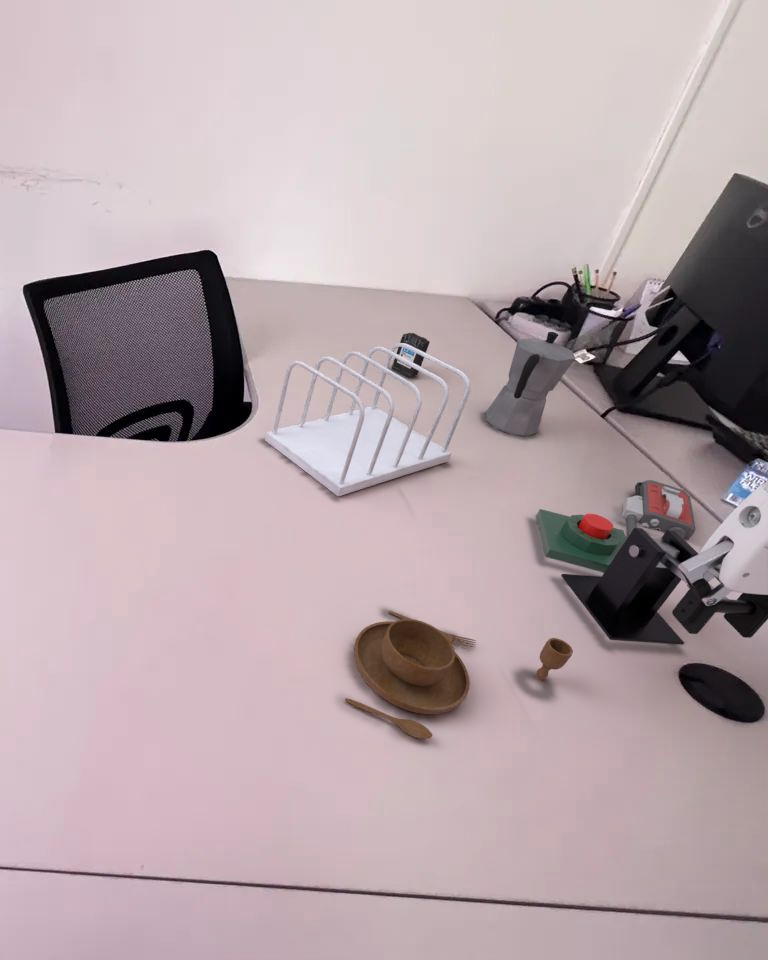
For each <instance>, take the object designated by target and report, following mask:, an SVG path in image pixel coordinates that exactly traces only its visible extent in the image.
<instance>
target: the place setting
mask: <svg viewBox="0 0 768 960" xmlns="http://www.w3.org/2000/svg"><path fill="white" fill-rule="evenodd" d="M388 614H390V615H392V616H395V617H397V618H399V619H397V620H394V621H391V620H390V621H389V620H388V621H379V622H374V623H371V624H369V625H367V626H366V627H364V628H363V629H362V630H361V631H360V632H359V633H358V634H357V637H356V639H355V642H354V646H353V659H354V663H355V665H356V668H357V671H358V673H359V674H360V676H361V677H362V679H363V681H364V682H365V683H366V684H367V685H368V686H369V688H371V689H372V690H373V691H374V692H375V693H376V694H377V695H378V696H380V697H381V698H382V699H384V700H385V701H387V702H388V703H390V704H392V705H394V706H396V707H398V708H400V709H402V710H406V711H409V712H412V713H417V714H422V715H439V714H444V713H447V712H451V711H452V710H454V709H456V708H458V706H460V705H461V704H462V703H463V702H464V701H465V699H466V698H467V696H468V694H469V690H470V686H471V681H470V675H469V671H468V670H467V667H466V665H465V664H464V662H463V660H462V658H461V657H460V656H459V654H458V653H457V652H456V651H455V648H454V645H453V644H457V645H460V646H465V647H470V648H475V646H476V644H477V640H476V639H473V638H468V637H464V636H460V635H456V634H452V633H447V632H445V631H443V630H440V629H438V628H436V627H435V626H433V625H432V624H430V623H427V622H424V621H423V620H419V619H413V618H410V617H407V616H405V615H402V614H400V613H397V612H394V611H391V610H388ZM573 653H574V650H573V648H572V646H571V645H570V644H569V643H568V642H566V641H565V640H563V639H560V638H558V637H551V638H548V640H547V641H546V642H545V644H544V645H543V647H542V648H541V651H540V653H539V660H540V662H541V664H542V665H541V667H540V668H538V669H537V670H536V676H535V679H536V680H538V681H543V680H544V679H547V678H548V676H549V672H550V671H551V670H554V671H555V670H559V669H562V668H563V667H564V666H565V665H566V663H568V661H569V659H570V658H571V657H572V655H573ZM344 701H345V702H346V703H348V704H350V705H352V706H354V707H357V708H359V709H361V710H364V711H365V712H366V711H367V712H369V713H371V714H373V715H377V716H379V717H381V718H384V719H386V720H388V721H390V722H393V723H394V724H395V725H397V726H398V727H399V728H400V729H401V730H402V731H403V732H404V733H406V734H407V735H409V736H412V737H414V738H417V739H421V740H428V739H431V738H432V737H433V734H432V731H430V730H429V728H427V727H426V726H425V725H424V724H422V723H420V722H418V721H416V720H414V719H413V720H412V719H408V718H399V717H395V716H392V715H390V714H387V713H384V712H383V711H380V710H378V709H375V708H373V707H371V706H369V705H367V704H364V703H362V702H359V701H356V700H354V699H350V698H348V697H346V698H344Z"/></svg>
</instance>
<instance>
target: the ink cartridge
mask: <svg viewBox="0 0 768 960" xmlns="http://www.w3.org/2000/svg"><path fill="white" fill-rule="evenodd" d="M399 343H406V344H408V345H410V346H412V347H414V348H416V349H418V350H421V351H423V352H425V353H427V351H428V348H429V345H430V343H431V341H430V340H428V339H427V338H426V337H423V336H420V335H418V334H417V333H415V332H407V333H403V335H402V336H401V338H400V341H399ZM395 353H396V354H398V355H400V356H402V357H404V358H405V359H407V360H409V361H411V362H413V363H415V364H416V365H418V366H420V367H422V364H423V362H424V359H425V357H423V356H421V355H419V354H417V353H415V352H413V351H411V350H409V349H407V348H404V347H398V348H397V350H396V352H395ZM391 369H392V370H393V371H394V372H397V374H398V373H399V374H401V376H402V375H403V376H404V377H406V378H409V379H410V378H413V377H416V376H419V373H420V371H418V370H416V369H414V368H413V367H411V366H409V365H407V364H405V363H403V362H401V361H400V360H398V359H396V358H394V360H393V362H392V365H391Z"/></svg>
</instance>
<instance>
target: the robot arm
mask: <svg viewBox="0 0 768 960" xmlns="http://www.w3.org/2000/svg"><path fill="white" fill-rule="evenodd" d="M678 569H679V570H680V571H681V573H682V574H683V575H684V577H685V579H686V581H687V583H686V587H688V590H687V591H686V592H685V594H684V595H683V597H682V598H681V599H680V600H679V601H678V603H677V604H676V606H675V607H674V608H673V609H672V611H671V614H672V616H673V617H674V618H675V620H676V621H677V622H678V623H679V624H680V625H681V626H682V627H683V628H684V629H685V630H686V632H687V633H688V634H690V635H697V634H699V633H700V631H702V629H703V628H704V627H705V626H706V624H708V622H709V621H710V620H711V619H712V617H713V616H714V615H715V614H716V611H717V610H718V608H717V606H716V605H715V604H716V603H717V602H719V601H720V600H721V599H722V598H724V597H725V596H726V597H727V596H728V595H729V594H730V593H732V592H734V593H741V594H740V595H739V596H738V598H737V599H736V600H745V601H752V602H753V603H754V604H755V605H756V612H755V613H754V614H752V615H745V614H730V613H723V618H724V619H725V621H726V622H727V623H728V624H729V625H730V626H731V627H732V628H733V629H734V630H736V632H737V633H738V634H739V635H740V636H741V637H743V638H746V639H747V638H748V639H749V638H750V639H751V638H752V637H753V636H754V635H755V634H756V633H757V632H758V631H759V630H760V629H761V628H762V627H763V625H765V623H766V622H767V621H768V478H767V479H766V482H765V483H762V484H760V485H759V486H758V487H756V489H754V490H753V491H752V492H751V493H750V494H749V495H748V496H746V498H745V499H743V500H742V501H741V502H740V503H739V504H738V505H737V506H736V507H735V508H734V509H733V511H732V512H731V513H729V515H728V516H727V517H726V518H725V519H724V520H723V522H722V523H721V524H720V525H719V526H718V527H717V528H716V529H715V531H713V533H712V535H711V536H710V537H709V538H708V539H707V541H706V542H705V544H704V545H703V547H702V548H701V550H700V552H699V553H698V555H696V556H694V557H692V558H690V559H688V560H686V561H684V562H682V563H681V564H679V565H678ZM714 578H715V579H716V580H717V581H718V582H719V584H718V585H716V586H715V587H714V589H713V590H712V589H711V587H710V585H711V584H710V581H711V580H713V579H714ZM709 584H710V585H709Z"/></svg>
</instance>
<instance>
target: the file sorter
mask: <svg viewBox="0 0 768 960" xmlns="http://www.w3.org/2000/svg"><path fill="white" fill-rule="evenodd" d="M398 347H404V348H407V349H409V350H411V351H413V352H415V353H417V354H419V355H421V356H423V357H424V359H427V360H429V361H430V362H433V363H435V364H436V365H439V366H441V367H443V368H445V369H446V370H449V371H450V372H453V373H454V374H456V375H458V376H460V378H461V379H462V380H463V383H464V385H465V390H464V394H463V396H462V399H461V401H460V405H459V407H458V409H457V412H456V414H455V416H454V419H453V422H452V424H451V426H450V428H449V432H448V434H447V436H446V439H445V441H444V444H443V446H441V445H440V444H438V443H437V442H434V441H433V440H432V438H433V436H434V433H435V431H436V429H437V427H438V424H439V422H440V420H441V418H442V415H443V413H444V411H445V408H446V406H447V403H448V402H449V397H450V390H449V386H448V384H447V383H446V381H445V380H444V379H443V378H442V377H440V376H438V375H437V374H435V373H433V372H431V371H430V370H428V369H425V368H424V367H422V366H421V367H420V366H418V365H416V364H415V363H413V362H411V361H409V360H407V359H405V358H404V357H402V356H400V355H398V354H396V353H397V352H395V351H396V349H398ZM378 351H380V352H383V353H385V354H387V358H386V361H385V364H384V365H383V364H381V363H379V362H378V361H376V360H374V359H372V356H373V354H374V353H375V352H378ZM351 356H356V357H358V358H360V359H361V360H363V361H364V363H363V366H362V370H361V372H360V373H359V372H358V371H355V370H354V369H352V368H351V367H349V366H348V365H346V364H347V361H348V359H349V358H350V357H351ZM392 357H393V358H394V359H395V358H396V359H398V360H400V361H401V362H403V363H405V364H407V365H409V366H411V367H413V368H414V369H416V370H418V371H419V373H421V374H423V375H425V376H427V377H429V378H431V379H432V380H434V381H436V382H437V383H438V384H439V385H440V386H441V387H442V390H443V399H442V401H441V404H440V407H439V409H438V411H437V414H436V416H435V419H434V421H433V423H432V425H431V428H430V430H429V432H428V434H427V436H425V435H423V434H421V433H420V432H419V431H417V430H415V429H414V427H415V425H416V421H417V419H418V416H419V413H420V411H421V408H422V404H423V398H422V395H421V394H422V393H421V391H420V390H419V388H418V387H417V386H416V385H415V384H414V383H412V382H411V381H410V380H408V379H406V378H404V377H403V376H402V375H401V376H400V375H399V374H398V373H396V372H395V371H392V370H390V369H389V367H390V364H391V360H392ZM326 361H328V362H330V363H332V364H334V365H336V366H337V367H338V368H339V369H338V372H337V376H336V378H335V380H333V378H330V377H329V376H327V375H326V374H324V373H322V372H320V368H321V367H322V366H321V365H322V364H323V363H324V362H326ZM369 364H370V365H372V366H373V367H375V368H377V369H379V370H380V371H381V372H382V374H381V377H380V380H379V384H377V383H375V382H373V381H372V380H370V379H369V378H367V377H365V376H366V373H367V369H368V366H369ZM296 366H300V367H302V368H303V369H305V370H306V371H308V372H310V373H311V374H313V375H312V378H311V381H310V384H309V389H308V392H307V396H306V399H305V403H304V407H303V410H302V414H301V418H300V423H298V424H293V425H289V426H285V427H282V428H281V427H280V428H279V425H280V420H281V417H282V411H283V408H284V403H285V398H286V394H287V389H288V385H289V380H290V378H291V374H292V370H293V369H294V367H296ZM286 368H287V369H286V371H285V376H284V379H283V384H282V388H281V392H280V398H279V402H278V406H277V411H276V416H275V421H274V424H273V428H272V430H269V431H267V432H266V434H265V438H264V441H265V442H266V443H268V444H269V445H270V446H272V447H273V448H274V449H275V450H277V451H278V452H280V453H281V454H283V456H285V457H286V458H287V459H289V460H290V461H291V462H293V463H294V464H295V465H296V466H298V467H299V468H300V469H302V470H303V471H304V472H306V473H307V474H308V475H309V476H311V477H312V478H313V479H315V480H316V481H317V482H318V483H320V485H323V486H324V487H325V488H326V489H328V490H329V491H330V492H332V493H333V494H334V495H335V496H337V497H341V496H343V495H347V494H350V493H353V492H357V491H359V490H362V489H365V488H368V487H372V486H375V485H379V484H381V483H384V482H388V481H390V480H393V479H397V478H400V477H403V476H406V475H409V474H413V473H416V472H419V471H421V470H425V469H428V468H432V467H435V466H437V465H441V464H444V463H446V462H450V459H451V456H452V451H450V450H448V447H449V445H450V443H451V440H452V438H453V436H454V432H455V430H456V428H457V425H458V423H459V421H460V419H461V416H462V413H463V412H464V411H463V410H464V408H465V406H466V404H467V400H468V398H469V395H470V392H471V382H470V379H469V377H468V375H467V374H466V373H464V371H462V370H461V369H458V368H457V367H454V366H452V365H450V364H448V363H447V362H444V361H442V360H441V359H439V358H437V357H434V356H432V355H430V354H428V353H427V352H426V353H425V352H423V351H421V350H418V349H416V348H414V347H412V346H410V345H408V344H406V343H400V342H399V343H396V344H395V345H393V346H392V347H391V348H390V349H389V348H387V347H384V346H375V347H373V348H371V349H370V350H369V351H368V353H367V354H366V355H365V354H364V353H361V352H359V351H357V350H356V351H350V352H347V353H346V354H345V355H343V357H342V360H341V361H339V360H338V359H336V358H334V357H333V356H322V357H320V359H319V360H317V362H316V364H315V367H312V366H311V365H309V364H308V363H306V362H303V361H300V360H296V361H293V362H291V363H290V364H289V365H288V367H286ZM344 371H345V372H346V373H348V374H350V375H352V376H353V377H355V378H356V379H358V382H357V385H356V388H355V392H353V391H351V390H350V389H348V388H347V387H345V386H344V385H342V384H340V382H341V379H342V377H343V373H344ZM387 375H389V376H390V377H391V378H393V379H394V380H396V381H399V382H400V383H402V384H403V385H405V386H407V387H408V388H409V389H411V390H412V391H413V393H414V395H415V397H416V404H415V405H416V406H415V408H414V411H413V413H412V417H411V419H410V422H409V425H407V424H406V423H404V422H402V421H401V420H399V419H398V418H395V417H394V413H395V403H394V399H393V397H392V395H391V394H390V392H389V391H387V390H386V389H384V388H383V385H384V382H385V379H386V377H387ZM317 378H319V379H321V380H323V381H324V382H326V383H328V384H329V385H331V386H333V389H332V392H331V396H330V399H329V403H328V406H327V410H326V413H325V417H322V418H317V419H314V420H309V421H306V418H307V414H308V410H309V407H310V402H311V400H312V396H313V393H314V388H315V385H316V381H317ZM363 383H364V384H366V385H367V386H369V387H371V388H372V389H374V390H375V396H374V399H373V402H372V405H370V406H366V407H365V406H364V402H363V401H362V399H361V398H360V397H359V395H360V391H361V388H362V385H363ZM338 390H339V391H340V392H342V393H344V394H345V395H347V396H348V397H350V398H352V401H351V405H350V408H349V410H348V411H346V412H342V413H337V414H333V415H331V412H332V409H333V407H334V402H335V399H336V397H337V392H338ZM381 395H383V396H384V397H385V399H386V400H387V402H388V408H389V409H388V412H385V410H383V409H380V408H379V407H377V404H378V402H379V398H380V396H381ZM356 405H357V406H358V409H355V407H356Z"/></svg>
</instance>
